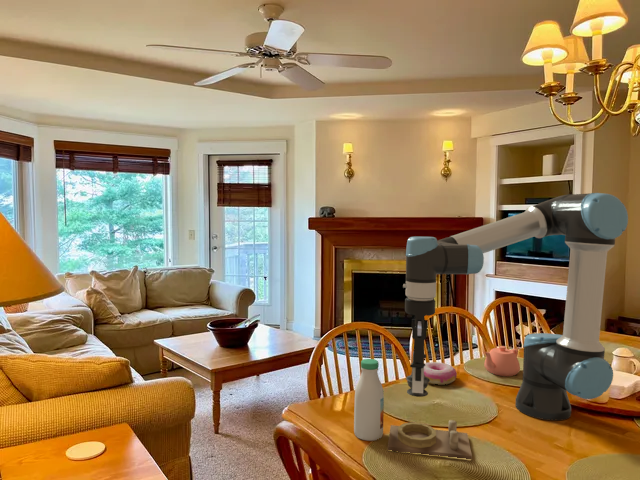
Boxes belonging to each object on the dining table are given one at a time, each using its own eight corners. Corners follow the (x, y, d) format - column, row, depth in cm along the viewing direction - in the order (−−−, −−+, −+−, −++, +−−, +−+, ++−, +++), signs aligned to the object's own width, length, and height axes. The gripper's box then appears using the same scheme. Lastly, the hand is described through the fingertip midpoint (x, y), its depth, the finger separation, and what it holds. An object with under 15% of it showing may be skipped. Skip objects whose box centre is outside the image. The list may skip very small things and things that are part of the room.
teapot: (530, 373, 176) (531, 347, 175) (497, 381, 167) (498, 354, 166) (502, 363, 186) (503, 339, 186) (470, 370, 177) (471, 346, 177)
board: (467, 437, 125) (467, 418, 124) (471, 461, 113) (472, 439, 113) (390, 429, 129) (391, 410, 129) (387, 451, 117) (387, 430, 117)
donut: (437, 371, 177) (437, 358, 177) (465, 382, 165) (465, 368, 165) (409, 377, 170) (410, 363, 170) (436, 389, 159) (437, 375, 158)
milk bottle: (375, 444, 121) (376, 367, 119) (348, 436, 125) (349, 362, 123) (387, 432, 127) (389, 359, 126) (362, 425, 131) (363, 354, 130)
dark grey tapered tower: (428, 389, 123) (430, 344, 122) (429, 398, 117) (430, 350, 117) (406, 387, 124) (407, 342, 124) (405, 396, 119) (406, 348, 118)
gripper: (406, 290, 129) (404, 374, 131) (403, 304, 111) (401, 400, 112) (434, 292, 128) (431, 376, 129) (436, 306, 109) (433, 403, 111)
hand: (417, 387), depth 121 cm, fingers closed on dark grey tapered tower, 6 cm apart
